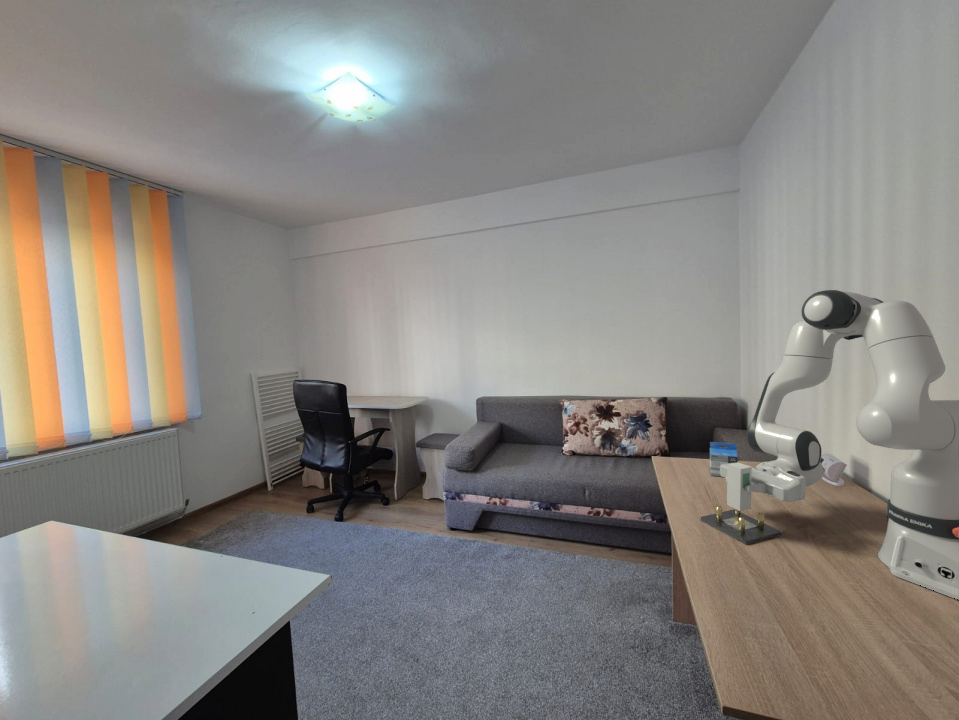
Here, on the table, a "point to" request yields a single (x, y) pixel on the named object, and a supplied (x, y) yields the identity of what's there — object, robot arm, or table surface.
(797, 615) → the table surface
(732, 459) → the label tape box
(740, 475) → the block
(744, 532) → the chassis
